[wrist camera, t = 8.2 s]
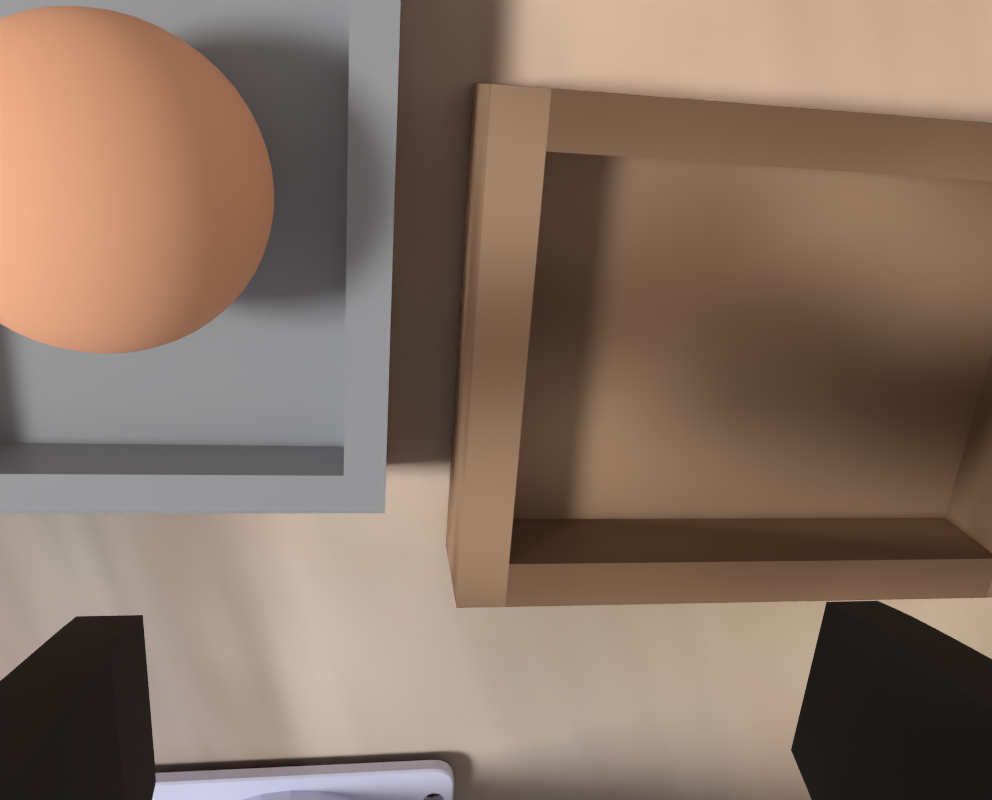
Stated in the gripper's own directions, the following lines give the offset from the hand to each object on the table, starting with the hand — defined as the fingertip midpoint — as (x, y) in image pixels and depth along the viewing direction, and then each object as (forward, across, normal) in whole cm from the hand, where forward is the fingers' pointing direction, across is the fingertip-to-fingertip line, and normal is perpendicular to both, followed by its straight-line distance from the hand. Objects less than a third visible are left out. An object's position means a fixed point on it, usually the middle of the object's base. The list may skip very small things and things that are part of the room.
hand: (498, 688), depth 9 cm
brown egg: (+9, +5, -4) cm, 11 cm away
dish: (+10, -7, -1) cm, 12 cm away
